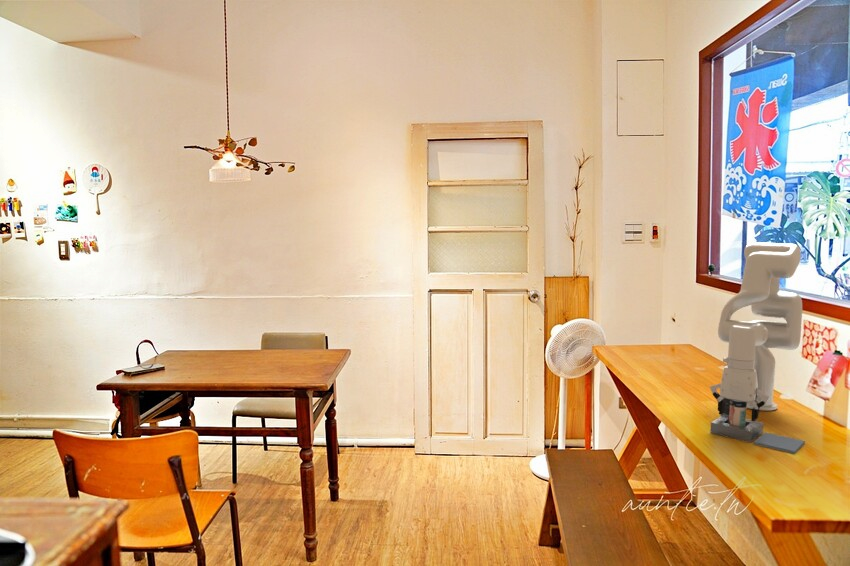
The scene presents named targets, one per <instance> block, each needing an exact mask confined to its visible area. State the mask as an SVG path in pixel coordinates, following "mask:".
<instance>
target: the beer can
mask: <svg viewBox="0 0 850 566" xmlns="http://www.w3.org/2000/svg"><path fill="white" fill-rule="evenodd" d="M747 409H748V408H747V402H742V401H736V400H731V399H730V410H729V424H732V425H737V426H741V427H745V424H746V419H747Z"/></svg>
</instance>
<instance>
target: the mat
mask: <svg viewBox="0 0 850 566" xmlns="http://www.w3.org/2000/svg"><path fill="white" fill-rule="evenodd" d="M805 443H806V441H805V440H803V439H798V438H793V437H789V436H784V435H780V434H775V433H770V432H764V433H762V434H761V435H760V436H759V437H757V438H756V439H755V440H754V441H753V445H754V444H755V446H760V447H764V448H767V449H771V450H776V449H777V450H776V451H779V452H780V451H781V452H785V453H790V454H794V455H795V454H796V453H798V451H799V450H800V449H801V448H802V447H803V446H804V445H805Z"/></svg>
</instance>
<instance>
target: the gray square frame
mask: <svg viewBox="0 0 850 566" xmlns="http://www.w3.org/2000/svg"><path fill="white" fill-rule="evenodd" d="M709 429H710V434H712V435H717V436H722V437H725V438H729V439H733V440H737V441H742V440H744V441H743V442H746V441H747V442H746V443H750V442H751V443H753V442H754V441H755V440H757V439H758V438H759V437H760V436H761V435H763V434H764V433H763V431H764V422H762V421H758V420H755V421H751V419H749V418H746V424H745V427H741V426H737V425H732V424H729V415H725V414H723V415H722V416H719V417H717V418H716V419H714V420H713V421H711V422H710V428H709Z"/></svg>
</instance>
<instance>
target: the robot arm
mask: <svg viewBox="0 0 850 566" xmlns="http://www.w3.org/2000/svg"><path fill="white" fill-rule="evenodd" d="M743 251H744V252H743V255H744V259H745V264H744V268H743V275H742V278H741V279H742V280H741V284H740V285H741V286H740V290H739V292H738V293H736V294H735V295H733V296H732V297H731V298H730V299H729V300H728V301H727V302H726V304H725V305H724V306H723V307H722V310H721V313H720V318H719V322H718V326H717V327H718V329H717V334H718V338H719V340H720V341H722V342H724V343H728V352H727V357H723V359H722V362H723V363H725V364H726V365H725V366H724V368H723V371H722V375H721V380H720V383H716V384H713V385H711V386H710V387H709V389H710V391H711V393H712V395H713V397H714V398H715V399H716V401H717V411H718V414H719V415H721V414H723V413H724V410H725V401H724V399H725V398H726V399H731V400H736V401H742V402H747V409H751V417H750V418H751V419H750V420H751V421H757V419H759V413H760V411H767V412H769V411H770V412H771V411H775V410H777V409H778V404H777V403H775V402H774V388H775V387H774V386H775V372H776V371H775V370H776V358H775V356H774V354H773V353H772V352H771V350H770V349H776V350H787V351H794V350H797V349H798V347H799V346H800V343H801V337H802V336H801V334H802V333H801V332H802V323H803V321H802V317H803V300H802V298H801V296H800V294H798V293H796V292H791V291H790V292H789V291H780V280H781V279H790V278H792V277H793V276H794V274H795V273H796V271H797V268H798V266H799V264H800V262H801V257H802V252H801V248H800V246H798V245H797V244H795V243H780V242H779V243H778V242H777V243H776V242H753V243H752V242H751V243H749V244H747V245H746V246H745V247H744V250H743ZM749 306H751V307H750V308H751V312H752V314H753V315H755V316H758V317H761V318H762V317H764V318H773V319H783V320H785V321H786V322H784V321H783V322H782V321H772V320H765V319H764V320H763V319H761V320H760V319H755V320H751V321H745V320H736V319H735V320H733V319H732V317H733V315H734V314H735V313H736V312H738V311H739V310H741V309H742V308H746V307H749ZM718 389H719V392H718Z"/></svg>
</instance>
